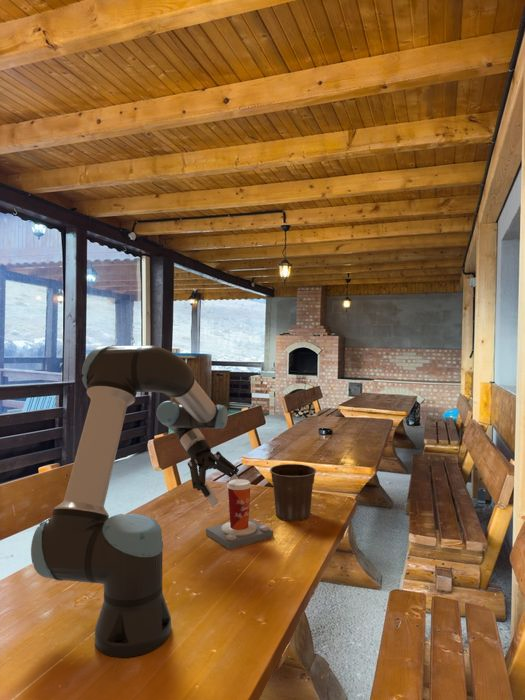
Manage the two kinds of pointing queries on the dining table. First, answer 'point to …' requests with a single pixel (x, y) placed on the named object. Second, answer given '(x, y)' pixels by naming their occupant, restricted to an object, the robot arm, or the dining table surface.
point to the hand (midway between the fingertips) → (230, 498)
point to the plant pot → (293, 490)
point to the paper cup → (239, 503)
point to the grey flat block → (239, 534)
